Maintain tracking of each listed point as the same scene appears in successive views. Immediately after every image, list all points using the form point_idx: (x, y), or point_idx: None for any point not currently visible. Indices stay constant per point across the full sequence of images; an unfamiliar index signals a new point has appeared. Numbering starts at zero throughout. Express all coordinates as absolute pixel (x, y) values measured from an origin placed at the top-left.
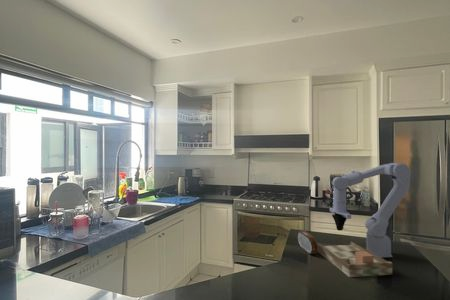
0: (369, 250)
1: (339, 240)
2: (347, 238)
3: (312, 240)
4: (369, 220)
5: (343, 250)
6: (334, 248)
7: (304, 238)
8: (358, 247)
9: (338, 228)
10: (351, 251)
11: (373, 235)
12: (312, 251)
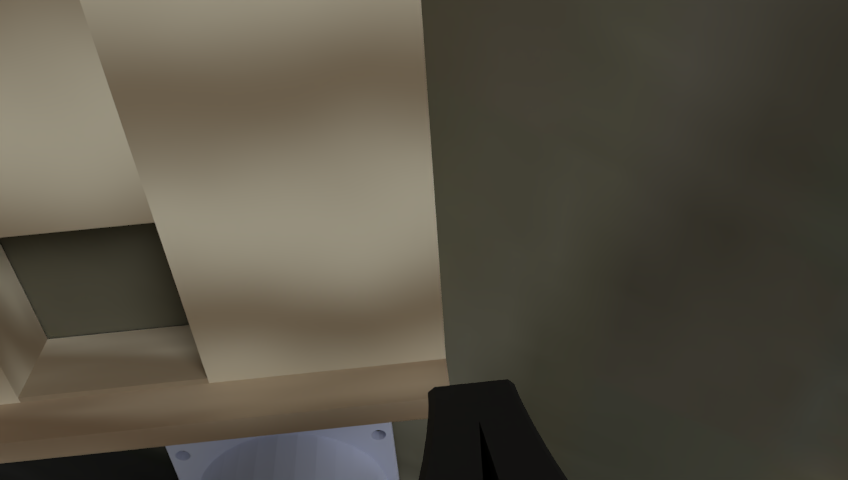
0: (256, 474)
1: (808, 317)
2: (830, 430)
3: None
4: None
5: (171, 145)
6: (262, 16)
7: None
8: (252, 400)
9: (429, 429)
10: (172, 256)
11: None
12: None
